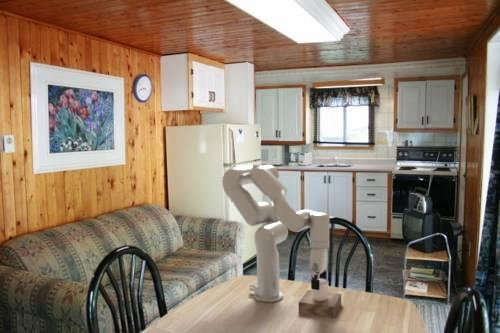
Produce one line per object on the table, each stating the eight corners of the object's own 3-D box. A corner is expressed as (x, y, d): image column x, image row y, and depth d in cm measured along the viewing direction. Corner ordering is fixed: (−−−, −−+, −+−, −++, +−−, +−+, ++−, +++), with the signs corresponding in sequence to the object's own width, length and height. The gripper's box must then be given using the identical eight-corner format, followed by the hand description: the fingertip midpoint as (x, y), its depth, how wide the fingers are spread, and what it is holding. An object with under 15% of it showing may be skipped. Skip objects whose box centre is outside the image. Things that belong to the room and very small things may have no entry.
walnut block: (298, 314, 177) (298, 301, 177) (308, 301, 190) (308, 289, 190) (333, 319, 172) (333, 306, 172) (341, 305, 185) (341, 294, 184)
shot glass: (328, 301, 177) (328, 284, 176) (310, 300, 178) (310, 283, 177) (329, 294, 183) (328, 278, 182) (312, 293, 185) (311, 277, 184)
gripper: (317, 237, 188) (316, 277, 190) (303, 248, 173) (302, 291, 174) (334, 239, 185) (333, 279, 187) (322, 250, 169) (321, 294, 171)
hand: (318, 285), depth 181 cm, fingers open, 9 cm apart
